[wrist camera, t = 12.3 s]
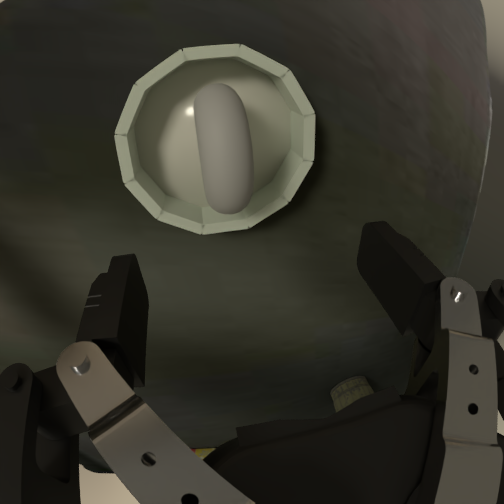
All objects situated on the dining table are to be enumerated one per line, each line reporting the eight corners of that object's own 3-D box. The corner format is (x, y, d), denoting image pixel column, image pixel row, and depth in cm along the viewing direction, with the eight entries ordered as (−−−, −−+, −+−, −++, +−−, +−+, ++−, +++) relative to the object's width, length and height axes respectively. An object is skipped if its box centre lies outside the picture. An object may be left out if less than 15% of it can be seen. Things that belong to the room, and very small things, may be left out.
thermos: (367, 366, 56) (433, 512, 28) (366, 389, 63) (420, 513, 35) (327, 383, 56) (385, 535, 28) (331, 403, 63) (379, 532, 35)
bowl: (144, 220, 30) (138, 243, 26) (118, 63, 21) (104, 63, 17) (296, 200, 32) (310, 221, 28) (297, 47, 23) (315, 45, 19)
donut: (240, 182, 29) (262, 237, 21) (204, 188, 28) (211, 245, 20) (230, 78, 23) (252, 83, 15) (190, 83, 23) (189, 91, 14)
